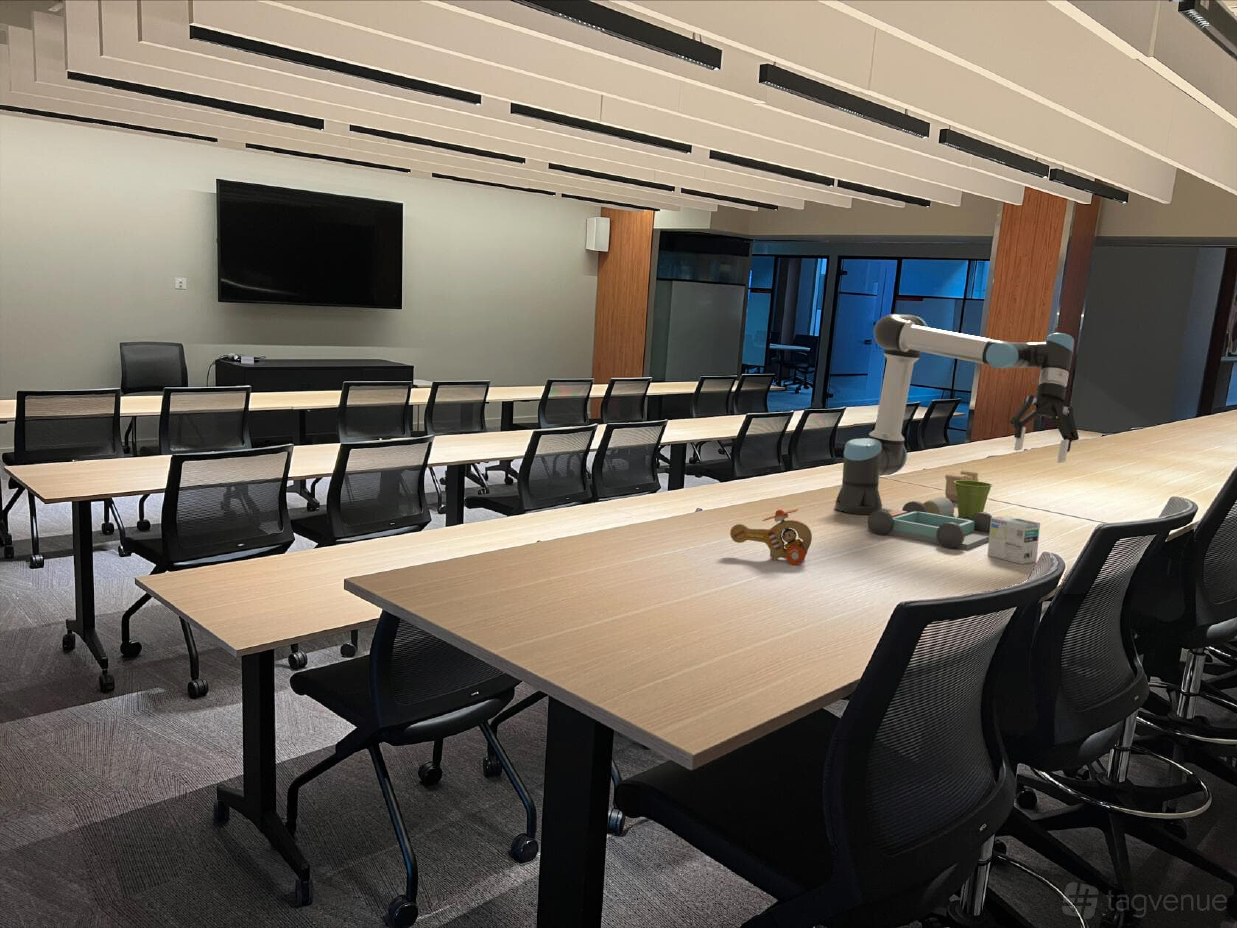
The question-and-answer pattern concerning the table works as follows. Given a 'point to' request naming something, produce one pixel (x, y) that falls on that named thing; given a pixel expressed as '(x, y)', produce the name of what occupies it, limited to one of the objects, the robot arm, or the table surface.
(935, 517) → the chassis
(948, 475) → the toy train
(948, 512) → the ceramic mug
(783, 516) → the toy helicopter
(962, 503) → the plant pot
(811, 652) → the table surface
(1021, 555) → the light bulb box
